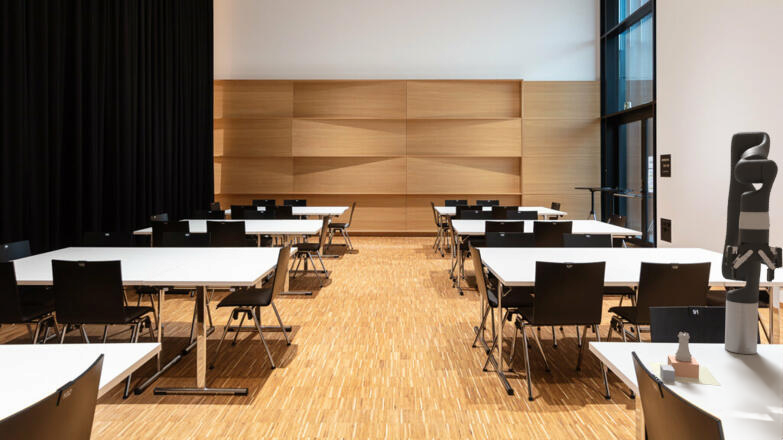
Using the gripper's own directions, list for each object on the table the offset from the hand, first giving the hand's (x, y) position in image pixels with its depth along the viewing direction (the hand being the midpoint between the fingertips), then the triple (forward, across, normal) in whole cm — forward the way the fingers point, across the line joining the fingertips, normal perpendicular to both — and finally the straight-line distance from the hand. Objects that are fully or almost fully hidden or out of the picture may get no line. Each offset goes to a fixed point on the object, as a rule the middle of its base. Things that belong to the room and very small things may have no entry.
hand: (752, 280), depth 159 cm
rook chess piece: (+23, +20, +10) cm, 32 cm away
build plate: (+28, +20, +10) cm, 36 cm away
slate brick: (+27, +25, +16) cm, 40 cm away
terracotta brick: (+27, +20, +10) cm, 35 cm away
